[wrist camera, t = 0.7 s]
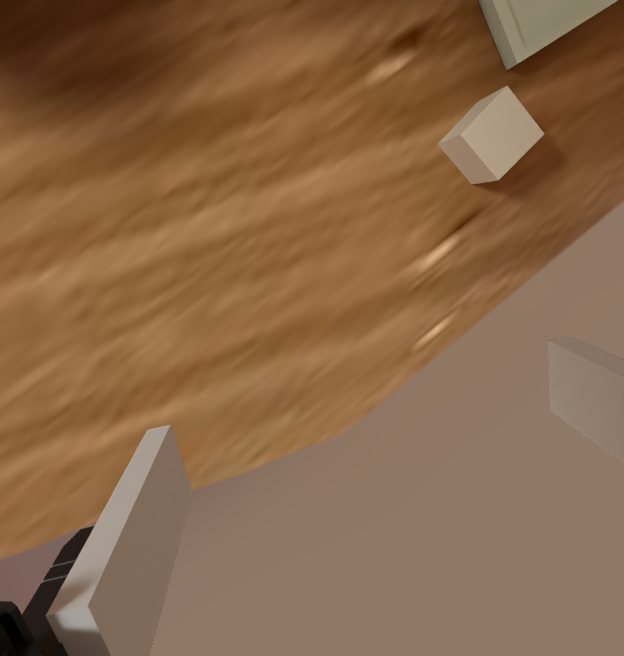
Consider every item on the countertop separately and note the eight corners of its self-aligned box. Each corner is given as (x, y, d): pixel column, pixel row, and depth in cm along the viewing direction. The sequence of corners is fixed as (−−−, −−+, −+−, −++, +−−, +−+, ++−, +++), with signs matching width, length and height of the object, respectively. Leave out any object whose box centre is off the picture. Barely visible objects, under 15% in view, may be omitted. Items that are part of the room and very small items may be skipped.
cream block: (437, 144, 39) (460, 134, 34) (477, 101, 38) (507, 85, 33) (471, 184, 40) (498, 180, 35) (511, 143, 39) (544, 133, 34)
